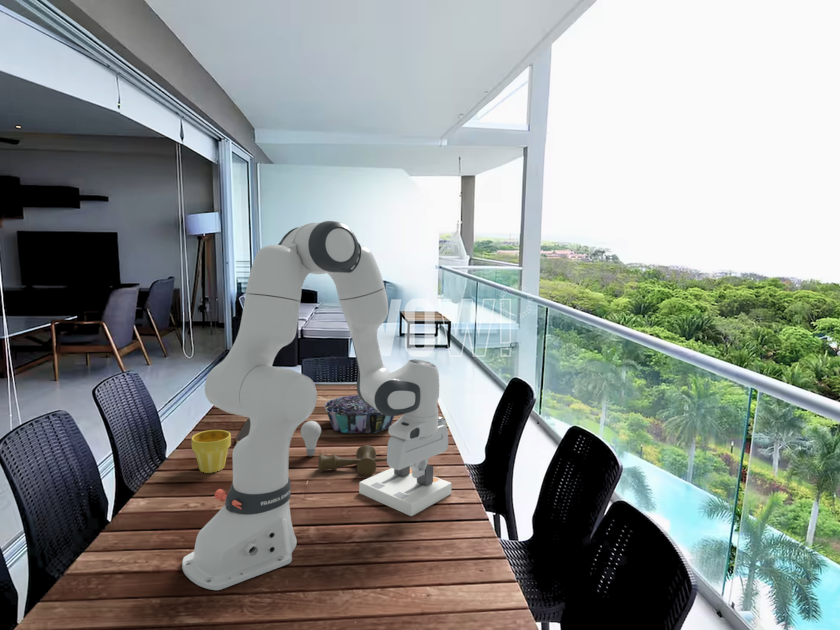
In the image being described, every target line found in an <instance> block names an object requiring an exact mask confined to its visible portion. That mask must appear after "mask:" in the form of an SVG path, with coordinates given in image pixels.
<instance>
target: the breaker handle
mask: <svg viewBox="0 0 840 630" xmlns="http://www.w3.org/2000/svg"><path fill="white" fill-rule="evenodd" d="M410 468H411V467H410V466H408V467H406V468H403V469H401V470H396V469H394V474H396V475H398V476H401V477H404V476H406V475H408V474H410Z"/></svg>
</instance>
